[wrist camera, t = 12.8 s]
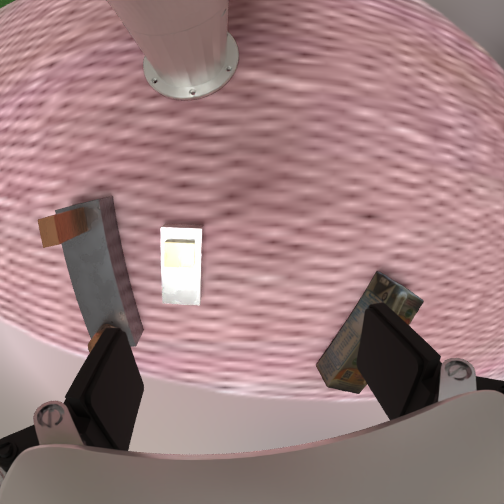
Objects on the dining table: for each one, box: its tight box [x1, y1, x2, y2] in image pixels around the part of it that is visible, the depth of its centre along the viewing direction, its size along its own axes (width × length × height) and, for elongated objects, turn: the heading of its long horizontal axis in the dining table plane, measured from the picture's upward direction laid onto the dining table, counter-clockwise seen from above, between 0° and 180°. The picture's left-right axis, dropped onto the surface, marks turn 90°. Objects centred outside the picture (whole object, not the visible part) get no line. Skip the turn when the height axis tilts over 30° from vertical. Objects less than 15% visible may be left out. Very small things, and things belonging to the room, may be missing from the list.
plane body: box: [38, 196, 144, 352], centre depth 30 cm, size 20×7×12 cm, turn 6°
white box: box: [161, 224, 203, 305], centre depth 35 cm, size 10×5×4 cm, turn 176°
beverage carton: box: [316, 271, 424, 394], centre depth 39 cm, size 8×19×7 cm, turn 152°
